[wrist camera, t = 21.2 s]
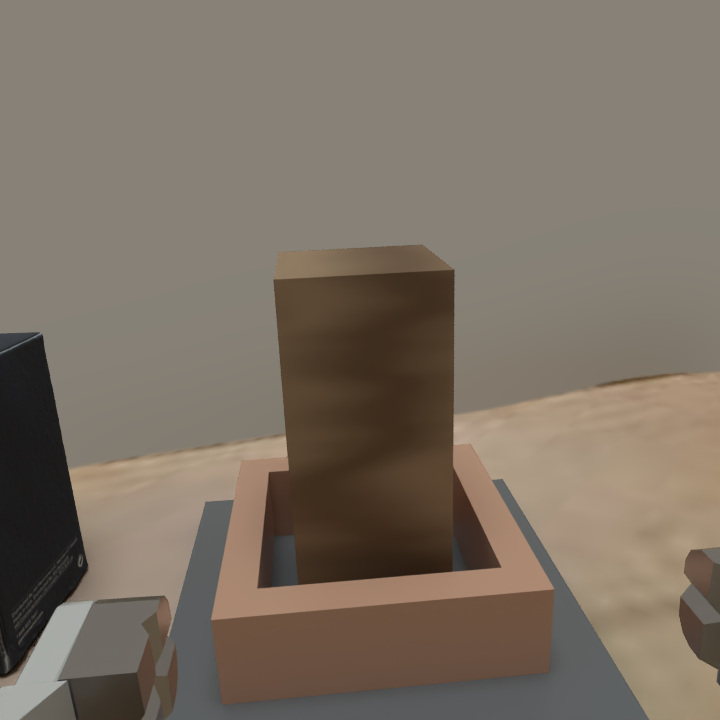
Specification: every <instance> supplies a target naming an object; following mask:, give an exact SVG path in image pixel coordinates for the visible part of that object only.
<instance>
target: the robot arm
mask: <svg viewBox="0 0 720 720" xmlns="http://www.w3.org/2000/svg"><path fill="white" fill-rule="evenodd" d="M684 574H685V575H686V576H687V578H688V579H689V581H690V582H691V583H692V584H691V585H690V586H689V587H688V588H687V589H686V591H685V592H684V593H683V594H682V595H681V597H680V609H679V617H680V622H681V626H682V631H683V634H684V636H685V638H686V640H687V642H688V644H689V646H690V648H691V649H692V650H693V652H694V653H695V654H696V656H697V657H698V658H699V659H700V660H702V661H704V662H705V663H707V664H709V665H711V666H713V667H714V668H716V669H718V672H717V683H718V684H719V685H720V547H717V548H707V549H696V550H691V551H690V552H689V554H688V556H687V558H686V561H685V568H684ZM170 622H171V614H170V609H169V603H168V600H167V599H166V597H165V596H150V597H135V598H120V599H104V600H97V601H94V600H92V601H80V602H68V603H63V604H61V605H60V606H58V607H57V608H56V609H55V611H54V613H53V615H52V616H51V618H50V620H49V622H48V624H47V626H46V628H45V629H44V631H43V633H42V635H41V637H40V639H39V640H38V642H37V644H36V646H35V648H34V650H33V652H32V653H31V655H30V657H29V659H28V661H27V663H26V665H25V666H24V668H23V670H22V672H21V674H20V676H19V677H18V679H17V681H16V683H15V685H13V686H4V687H2V688H1V689H0V720H165V719H166V718H167V717H168V716H169V715H170V714H171V713H172V712H173V708H174V703H175V699H176V693H177V680H178V663H177V652H176V645H175V643H174V642H173V641H172V640H171V639H170V638H169V637H168V636H167V633H168V630H169V626H170Z"/></svg>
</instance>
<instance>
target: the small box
mask: <svg viewBox="0 0 720 720" xmlns="http://www.w3.org/2000/svg"><path fill="white" fill-rule="evenodd" d="M87 567H88V564H87V560H86V556H85V551H84V546H83V541H82V536H81V531H80V527H79V521H78V516H77V511H76V506H75V501H74V496H73V490H72V486H71V481H70V476H69V471H68V466H67V461H66V455H65V450H64V445H63V441H62V435H61V429H60V425H59V418H58V414H57V409H56V404H55V399H54V393H53V388H52V384H51V380H50V373H49V369H48V364H47V359H46V354H45V349H44V341H43V335H42V333H40V332H39V333H7V334H0V674H6V673H7V672H9V671H10V670H12V669H13V667H14V666H15V665H16V664H17V662H18V661H19V660H20V659H21V658H22V657H23V655H24V653H25V652H26V650H27V648H28V647H29V645H30V644H31V643H32V642H33V640H35V638H36V636H37V635H38V633H39V632H40V631H41V629H42V628H43V627H44V625H45V624H46V623H47V621H48V620H49V619H50V617H51V616H52V615H53V613H54V611H55V609H56V608H57V607H58V606H60V605H61V603H62V602H63V600H64V599H65V598H66V596H67V595H68V594H69V593H70V592H71V591H72V590H73V589H74V587H75V586H76V584H77V582H78V581H79V580H80V578H81V577H82V575H83V573H84V572H85V571H86V569H87Z"/></svg>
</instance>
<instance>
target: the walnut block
mask: <svg viewBox="0 0 720 720" xmlns="http://www.w3.org/2000/svg"><path fill="white" fill-rule="evenodd" d="M274 291H275V304H276V315H277V328H278V341H279V353H280V366H281V378H282V389H283V403H284V416H285V428H286V440H287V453H288V465H289V478H290V490H291V503H292V515H293V527H294V540H295V552H296V565H297V577H298V585H306V584H318V583H330V582H341V581H353V580H364V579H376V578H387V577H399V576H410V575H422V574H433V573H445V572H453V414H454V408H453V406H454V269H453V268H451V267H450V266H449V265H448V264H446V263H445V262H444V261H443V260H441V259H440V258H439V257H437V256H436V255H435V254H434V253H432V252H431V251H430V250H428V249H427V248H426V247H425V246H423V245H407V246H388V247H369V248H348V249H329V250H310V251H292V252H291V251H290V252H279V255H278V259H277V265H276V270H275V275H274Z"/></svg>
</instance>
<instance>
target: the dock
mask: <svg viewBox="0 0 720 720" xmlns="http://www.w3.org/2000/svg"><path fill="white" fill-rule="evenodd" d="M169 638H170V639H171V640H172V641H173V642H174V643H175V645H176V652H177V663H178V680H177V693H176V699H175V703H174V708H173V712H172V713H171V714H170V715H169V716H168V717H167V718H166V719H165V720H649V719H648V717H647V715H646V714H645V712H644V711H643V709H642V707H641V706H640V704H639V702H638V701H637V699H636V697H635V696H634V694H633V693H632V691H631V689H630V688H629V686H628V684H627V683H626V681H625V679H624V678H623V676H622V674H621V673H620V671H619V670H618V668H617V666H616V665H615V663H614V661H613V660H612V658H611V656H610V655H609V653H608V651H607V650H606V648H605V647H604V645H603V643H602V642H601V640H600V638H599V637H598V635H597V633H596V632H595V630H594V628H593V627H592V625H591V624H590V622H589V620H588V619H587V617H586V615H585V614H584V612H583V610H582V609H581V607H580V606H579V604H578V602H577V601H576V599H575V597H574V596H573V594H572V592H571V591H570V589H569V587H568V586H567V584H566V583H565V581H564V579H563V578H562V576H561V574H560V573H559V571H558V569H557V568H556V566H555V564H554V563H553V561H552V560H551V558H550V556H549V555H548V553H547V551H546V550H545V548H544V546H543V545H542V543H541V541H540V540H539V538H538V537H537V535H536V533H535V532H534V530H533V528H532V527H531V525H530V523H529V522H528V520H527V519H526V517H525V515H524V514H523V512H522V510H521V509H520V507H519V505H518V504H517V502H516V500H515V499H514V497H513V496H512V494H511V492H510V491H509V489H508V487H507V486H506V484H505V482H504V481H503V479H498V480H491V478H490V476H489V474H488V473H487V471H486V469H485V468H484V466H483V464H482V462H481V461H480V459H479V457H478V455H477V454H476V452H475V450H474V448H473V447H472V445H471V444H464V445H453V572H445V573H433V574H422V575H410V576H399V577H387V578H376V579H364V580H353V581H341V582H330V583H318V584H306V585H298V577H297V565H296V552H295V540H294V527H293V515H292V503H291V490H290V478H289V465H288V457H286V458H272V459H258V460H244V461H241V466H240V471H239V476H238V481H237V487H236V492H235V497H234V500H226V501H213V502H206V503H205V507H204V510H203V514H202V518H201V522H200V525H199V529H198V533H197V536H196V540H195V544H194V548H193V551H192V555H191V559H190V562H189V566H188V570H187V573H186V577H185V581H184V585H183V588H182V592H181V596H180V599H179V603H178V607H177V610H176V614H175V618H174V622H173V625H172V629H171V633H170V636H169Z"/></svg>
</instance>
